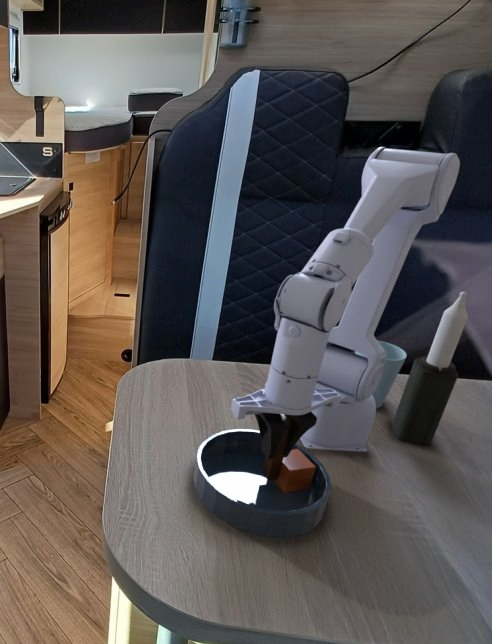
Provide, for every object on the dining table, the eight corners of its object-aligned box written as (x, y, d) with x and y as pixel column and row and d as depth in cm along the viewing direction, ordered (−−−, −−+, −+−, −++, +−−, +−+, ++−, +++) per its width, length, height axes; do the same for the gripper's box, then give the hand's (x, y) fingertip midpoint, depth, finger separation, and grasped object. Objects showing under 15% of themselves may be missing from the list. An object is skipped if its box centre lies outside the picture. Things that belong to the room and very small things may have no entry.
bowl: (298, 456, 79) (304, 432, 77) (343, 545, 64) (353, 518, 62) (185, 449, 80) (188, 426, 78) (203, 536, 65) (208, 509, 63)
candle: (424, 429, 86) (478, 288, 75) (432, 447, 82) (491, 300, 71) (390, 422, 88) (438, 283, 77) (396, 440, 83) (449, 295, 72)
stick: (272, 471, 74) (286, 412, 69) (278, 479, 72) (292, 419, 68) (261, 473, 73) (275, 414, 69) (267, 480, 72) (281, 420, 68)
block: (292, 470, 76) (298, 448, 74) (309, 489, 72) (316, 466, 70) (267, 474, 75) (273, 452, 73) (284, 493, 71) (290, 470, 69)
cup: (358, 385, 99) (373, 336, 94) (398, 405, 93) (416, 353, 88) (333, 395, 95) (347, 345, 91) (372, 416, 89) (390, 364, 85)
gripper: (325, 348, 70) (304, 430, 76) (227, 357, 67) (212, 441, 73) (361, 374, 64) (335, 461, 70) (254, 385, 61) (236, 474, 67)
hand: (274, 453), depth 71 cm, fingers closed on stick, 1 cm apart
